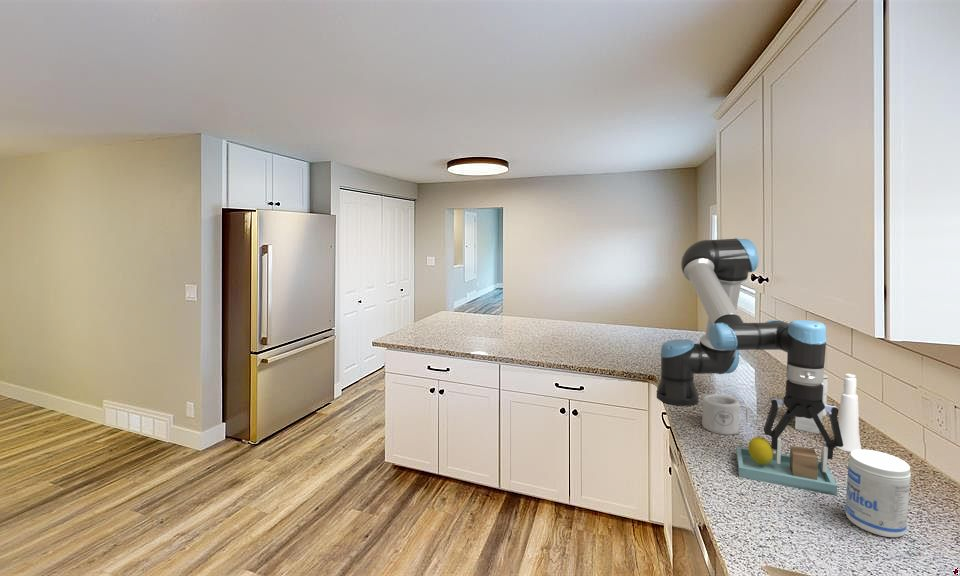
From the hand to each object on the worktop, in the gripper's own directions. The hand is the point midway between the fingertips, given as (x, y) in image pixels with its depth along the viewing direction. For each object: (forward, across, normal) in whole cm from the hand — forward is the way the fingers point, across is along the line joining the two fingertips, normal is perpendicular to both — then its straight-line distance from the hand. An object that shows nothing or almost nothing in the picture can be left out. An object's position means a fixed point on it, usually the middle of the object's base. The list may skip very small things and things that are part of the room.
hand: (800, 465), depth 109 cm
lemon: (+2, -8, 0) cm, 8 cm away
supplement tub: (+3, +11, -16) cm, 20 cm away
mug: (+3, -16, +25) cm, 30 cm away
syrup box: (+3, +11, +50) cm, 51 cm away
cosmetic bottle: (+3, +15, +24) cm, 28 cm away
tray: (+3, -4, 0) cm, 5 cm away
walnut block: (+2, +1, 0) cm, 2 cm away
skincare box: (+3, +8, +36) cm, 36 cm away
